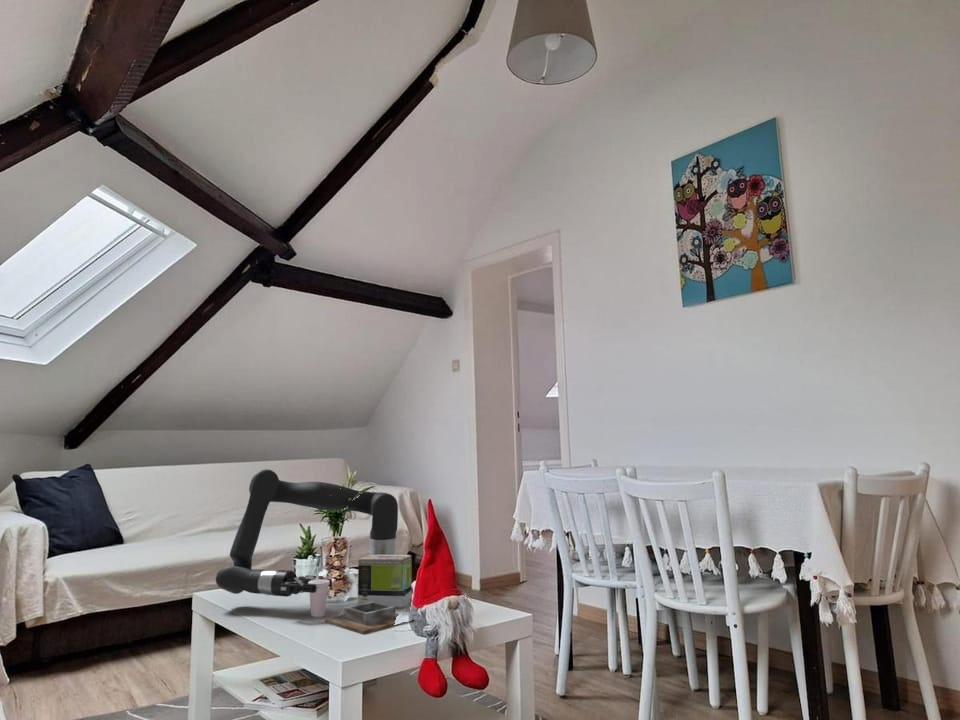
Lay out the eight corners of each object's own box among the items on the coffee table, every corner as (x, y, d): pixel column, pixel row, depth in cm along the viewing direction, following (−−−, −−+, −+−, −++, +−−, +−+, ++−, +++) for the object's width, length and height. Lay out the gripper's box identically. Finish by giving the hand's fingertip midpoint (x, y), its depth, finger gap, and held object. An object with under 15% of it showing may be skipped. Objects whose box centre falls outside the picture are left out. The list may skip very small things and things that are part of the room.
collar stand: (375, 610, 188) (375, 597, 189) (414, 620, 176) (414, 606, 177) (324, 622, 175) (324, 608, 176) (362, 634, 163) (363, 619, 164)
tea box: (412, 601, 200) (412, 554, 202) (402, 609, 190) (403, 559, 192) (368, 599, 202) (369, 553, 204) (356, 607, 192) (357, 558, 195)
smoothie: (311, 612, 186) (313, 564, 188) (332, 612, 185) (333, 564, 188) (303, 617, 180) (305, 568, 182) (324, 618, 179) (325, 568, 181)
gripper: (263, 574, 182) (310, 577, 177) (291, 565, 196) (336, 568, 191) (261, 600, 181) (309, 604, 176) (290, 590, 194) (335, 593, 190)
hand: (323, 585), depth 183 cm, fingers open, 8 cm apart
